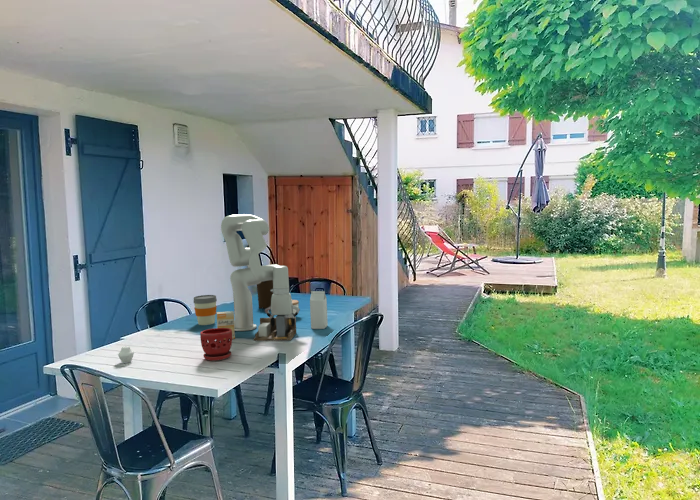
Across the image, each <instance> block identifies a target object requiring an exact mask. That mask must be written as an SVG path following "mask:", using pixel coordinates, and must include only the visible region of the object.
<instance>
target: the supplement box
mask: <svg viewBox="0 0 700 500" xmlns="http://www.w3.org/2000/svg"><path fill="white" fill-rule="evenodd" d="M234 320H235V314H234V311H233V310H230V311H216V328H230V329H231V330H232V340H234V339H236V336H235V335H236V333H235V328H234ZM224 340H226V339H224Z"/></svg>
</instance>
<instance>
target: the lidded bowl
mask: <svg viewBox="0 0 700 500" xmlns="http://www.w3.org/2000/svg"><path fill="white" fill-rule="evenodd" d="M299 303H300V302H299V300H297V299H292V304H293V306H295V307H297V308H299V309H300V307H299ZM293 313H294V314H295V313H296V310H295V309H293ZM289 317H291V316H290V315H289Z"/></svg>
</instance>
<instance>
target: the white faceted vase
mask: <svg viewBox="0 0 700 500" xmlns="http://www.w3.org/2000/svg"><path fill="white" fill-rule="evenodd" d="M117 355H118V358H119V359H120V362H121V363H122V364H128V363H129V364H130V363H131V362H132V359H133V357H134V355H135V353H134V351H133V350H132V349H131V347H130V346H128V345H124V346H122V347H121V349H120V351H119V352H118V353H117Z"/></svg>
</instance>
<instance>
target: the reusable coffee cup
mask: <svg viewBox="0 0 700 500" xmlns="http://www.w3.org/2000/svg"><path fill="white" fill-rule="evenodd" d="M193 304H194V312H195V317H196V319H197V324H198V325H199V326H207V325H213V324H215V323H216V315H217V295H215V294H205V295H204V294H203V295H196V296H194V297H193Z"/></svg>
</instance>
